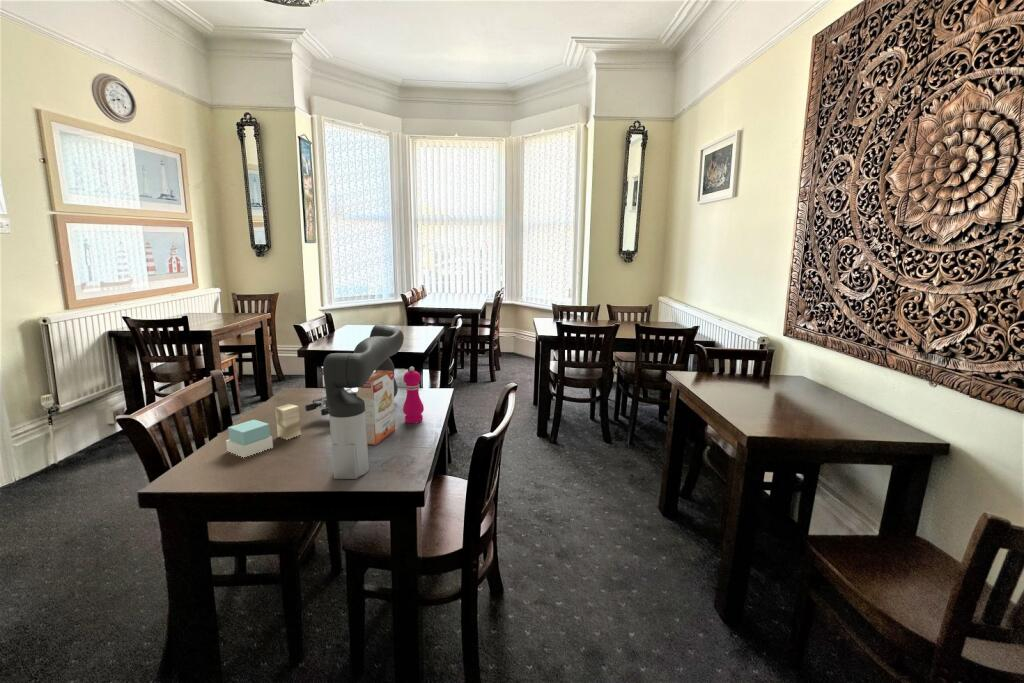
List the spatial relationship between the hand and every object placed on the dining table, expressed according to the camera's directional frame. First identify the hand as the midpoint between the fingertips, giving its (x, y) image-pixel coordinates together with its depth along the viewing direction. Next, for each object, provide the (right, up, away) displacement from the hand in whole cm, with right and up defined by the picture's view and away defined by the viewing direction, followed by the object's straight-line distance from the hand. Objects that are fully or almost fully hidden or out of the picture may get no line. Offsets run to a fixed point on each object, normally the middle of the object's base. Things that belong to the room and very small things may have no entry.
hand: (313, 410), depth 161 cm
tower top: (-12, -6, -18) cm, 22 cm away
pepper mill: (+33, -5, +7) cm, 34 cm away
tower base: (-12, -10, -18) cm, 23 cm away
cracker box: (+25, -8, -8) cm, 27 cm away
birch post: (-5, -7, -7) cm, 11 cm away
